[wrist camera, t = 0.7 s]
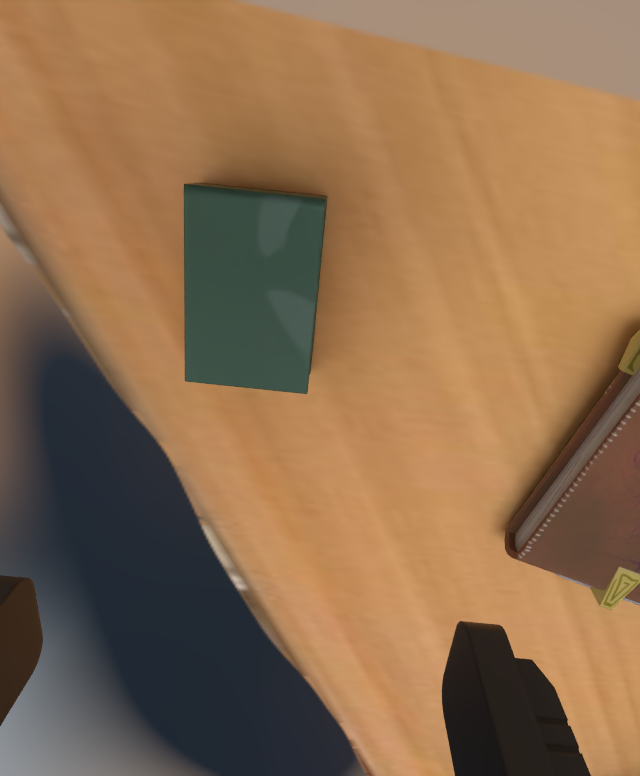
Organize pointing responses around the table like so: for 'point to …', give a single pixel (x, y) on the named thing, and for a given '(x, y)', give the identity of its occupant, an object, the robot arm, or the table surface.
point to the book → (591, 498)
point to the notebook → (251, 285)
